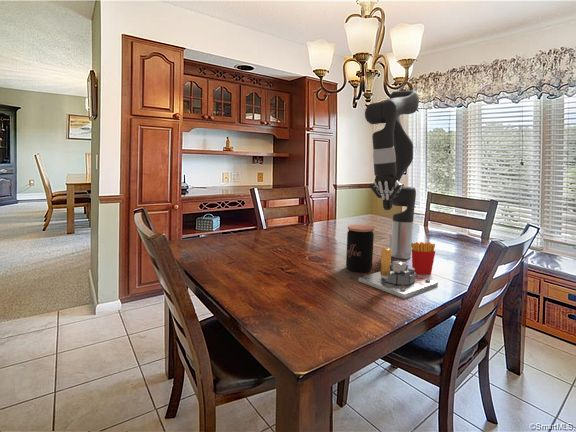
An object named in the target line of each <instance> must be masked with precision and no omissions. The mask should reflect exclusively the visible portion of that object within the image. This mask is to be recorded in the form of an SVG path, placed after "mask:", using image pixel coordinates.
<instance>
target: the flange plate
mask: <svg viewBox="0 0 576 432" xmlns="http://www.w3.org/2000/svg"><path fill="white" fill-rule="evenodd" d="M391 263H392V267H391V271H394V272H395V274H402V271H406V265H407V263H406V262H405V261H401V260H391ZM380 272H381V270H380V271H377V272H374V273H369V274H366V275H363V276H358V282H360V283H363V284H364V285H367V286H371V287H373V288H376V289H379V290H380V291H383V292H385V293H388V294H391V295H393V296H396V297H399V298H401V299H407V298H410V297H412V296H415V295H418V294H421V293H423V292H426V291H428V290H432V289H434V288H437V287H438V286H439V282H438V281H435V280H432V279H429V278H426V277H422V276H419V275H417V274H415V282H413V283H411V284H409V285H408V284H393V283H389V282H386V281H384V280H383V279H382V278H381V274H380Z"/></svg>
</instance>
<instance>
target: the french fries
mask: <svg viewBox="0 0 576 432" xmlns="http://www.w3.org/2000/svg"><path fill="white" fill-rule="evenodd" d="M435 249H436V244H435V243H431V242H429V241H427V242H423V241H420V242H418V241H416V242H412V243H411V268H414V269H415V273H416V274H415V275H416V276H419V275H420V276H430V275H432V272H433V271H432V270H433V267H434V266H433V265H434V261H435V256H436V251H435Z"/></svg>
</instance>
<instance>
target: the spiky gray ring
mask: <svg viewBox="0 0 576 432" xmlns="http://www.w3.org/2000/svg"><path fill="white" fill-rule="evenodd" d="M380 257H381V258H380V260H381V261H380V271H381V272H380V271H379V272H380V274H381V278H382V279H383V280H384V281H386V282H389V283H393V284H408V285H409V284H411V283H413V282H415V275H417V274H416V273H415V269H414V268H412V267H409V265H408V264H406V271H402V274H395V272H394V271H391V267H392V256H391V249H389V247H388V248H387V247H383V248H381V256H380Z"/></svg>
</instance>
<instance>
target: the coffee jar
mask: <svg viewBox="0 0 576 432" xmlns="http://www.w3.org/2000/svg"><path fill="white" fill-rule="evenodd" d="M374 231H375V227H374V226H371V225H367V224H350V225H347V233H346V234H347V235H346V236H347V237H346V256H345V257H346V258H345V259H346V260H345V261H346V262H345V265H346V266H345V267H346V268H347V270H348V271H350V272H352V273H359V274H364V273H368V272H370V271H371V270H372V269H373V258H374V257H373V256H374V255H373V254H374V241H375V240H374V239H375V237H374V236H375V233H374Z"/></svg>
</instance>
